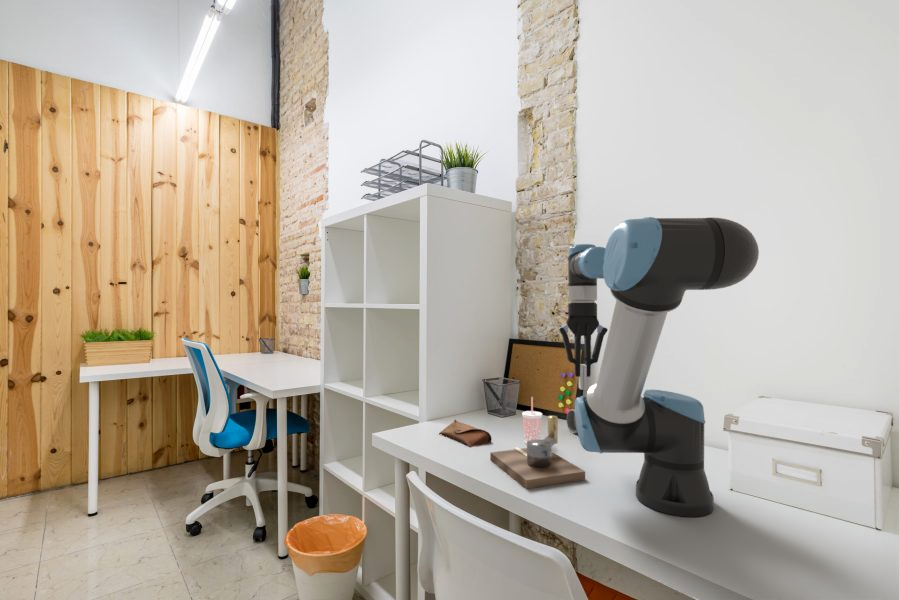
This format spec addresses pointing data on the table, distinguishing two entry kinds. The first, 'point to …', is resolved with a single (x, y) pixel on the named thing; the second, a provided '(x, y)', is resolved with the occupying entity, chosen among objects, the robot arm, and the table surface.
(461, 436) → the sunglasses case
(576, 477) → the walnut stand plate
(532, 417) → the beverage cup
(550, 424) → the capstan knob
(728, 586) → the table surface
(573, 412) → the ceramic mug
